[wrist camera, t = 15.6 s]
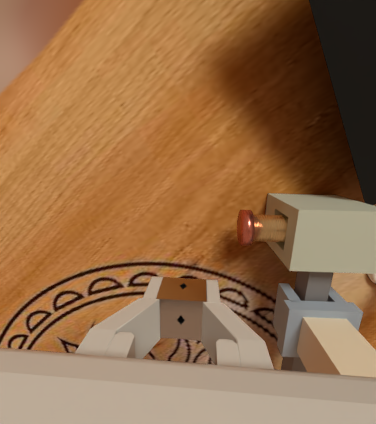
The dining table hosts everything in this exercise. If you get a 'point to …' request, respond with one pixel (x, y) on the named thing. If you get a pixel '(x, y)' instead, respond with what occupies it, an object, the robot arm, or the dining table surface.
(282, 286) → the carriage
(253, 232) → the cylinder
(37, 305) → the dining table surface
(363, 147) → the lantern
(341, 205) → the guide rail
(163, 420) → the robot arm
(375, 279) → the chess piece
